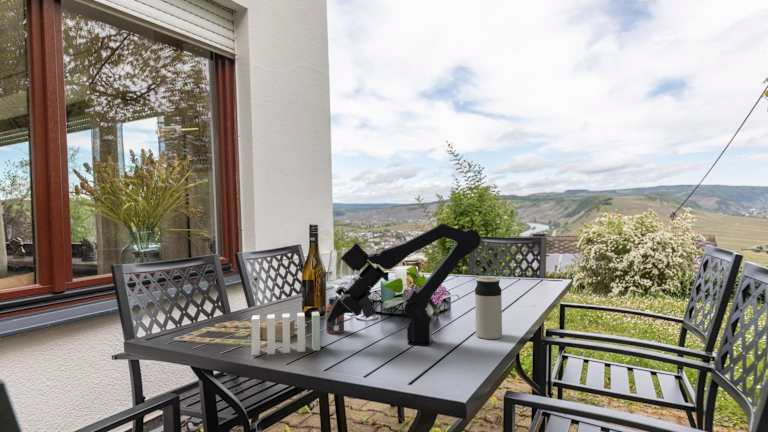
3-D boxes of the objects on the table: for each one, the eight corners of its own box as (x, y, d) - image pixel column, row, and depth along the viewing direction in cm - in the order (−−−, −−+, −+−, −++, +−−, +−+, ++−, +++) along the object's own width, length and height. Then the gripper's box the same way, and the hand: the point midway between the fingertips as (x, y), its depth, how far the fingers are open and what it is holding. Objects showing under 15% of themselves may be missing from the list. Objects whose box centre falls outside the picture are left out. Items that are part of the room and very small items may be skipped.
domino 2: (275, 348, 130) (274, 314, 130) (274, 353, 125) (274, 318, 125) (268, 349, 129) (267, 314, 129) (267, 354, 124) (266, 318, 124)
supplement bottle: (341, 334, 144) (340, 299, 144) (323, 333, 145) (323, 299, 145) (346, 329, 150) (346, 296, 150) (329, 329, 151) (329, 295, 151)
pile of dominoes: (310, 327, 156) (310, 311, 156) (270, 350, 130) (270, 331, 130) (224, 322, 165) (224, 307, 165) (171, 342, 139) (170, 325, 139)
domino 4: (304, 346, 131) (304, 312, 131) (305, 351, 126) (304, 316, 126) (297, 346, 131) (297, 312, 131) (298, 351, 126) (297, 316, 126)
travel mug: (497, 341, 133) (496, 281, 133) (471, 337, 138) (471, 279, 138) (505, 335, 140) (504, 277, 140) (481, 331, 144) (480, 276, 144)
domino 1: (260, 349, 129) (259, 315, 129) (259, 354, 124) (258, 319, 124) (253, 350, 128) (252, 315, 128) (251, 355, 123) (251, 319, 123)
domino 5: (319, 345, 132) (318, 311, 132) (320, 350, 127) (319, 315, 127) (312, 345, 132) (311, 311, 132) (313, 350, 127) (312, 315, 127)
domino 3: (290, 347, 130) (289, 313, 130) (290, 352, 126) (289, 317, 126) (283, 348, 130) (282, 313, 130) (282, 353, 125) (282, 317, 125)
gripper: (390, 306, 125) (352, 348, 122) (377, 295, 143) (343, 331, 141) (362, 279, 123) (322, 321, 121) (353, 271, 141) (318, 308, 139)
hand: (328, 321), depth 130 cm, fingers closed
